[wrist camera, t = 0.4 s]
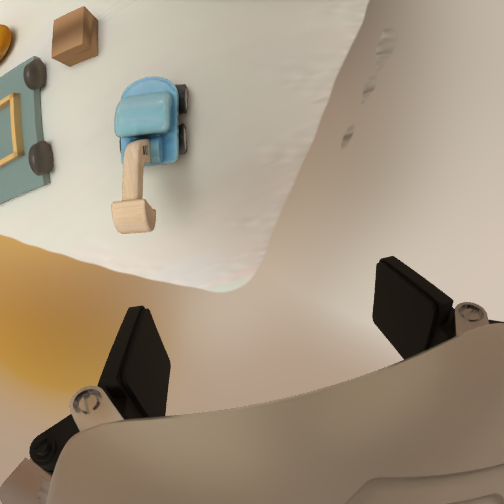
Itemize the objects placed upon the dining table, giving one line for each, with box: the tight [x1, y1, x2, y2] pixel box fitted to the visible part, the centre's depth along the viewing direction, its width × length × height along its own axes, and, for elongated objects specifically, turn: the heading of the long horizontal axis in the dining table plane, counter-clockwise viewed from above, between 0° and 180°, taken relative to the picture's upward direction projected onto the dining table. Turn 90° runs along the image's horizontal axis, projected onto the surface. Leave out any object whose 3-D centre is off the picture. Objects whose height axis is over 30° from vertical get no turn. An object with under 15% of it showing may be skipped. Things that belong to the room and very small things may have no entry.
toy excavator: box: [112, 77, 188, 234], centre depth 27 cm, size 9×17×17 cm, turn 0°
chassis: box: [0, 56, 53, 204], centre depth 26 cm, size 22×18×5 cm
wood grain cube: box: [52, 6, 98, 67], centre depth 24 cm, size 7×5×6 cm
